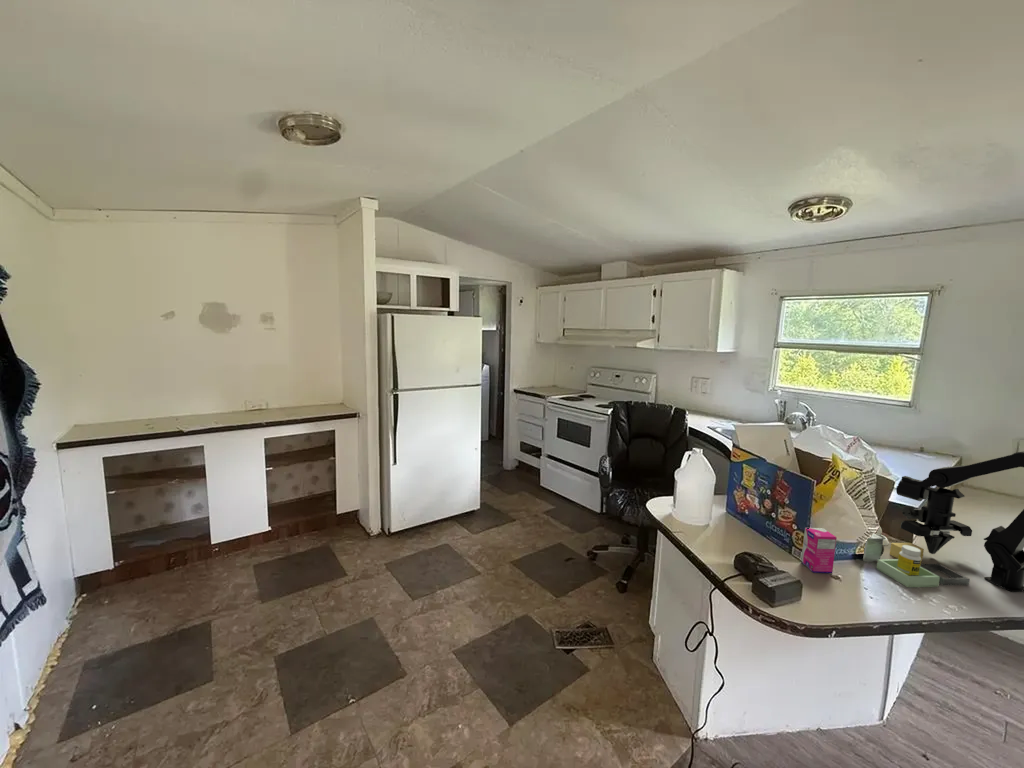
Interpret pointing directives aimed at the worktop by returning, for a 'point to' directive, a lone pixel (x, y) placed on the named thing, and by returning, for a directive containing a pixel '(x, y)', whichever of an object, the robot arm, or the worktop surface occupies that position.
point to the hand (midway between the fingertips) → (931, 553)
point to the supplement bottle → (909, 560)
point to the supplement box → (818, 550)
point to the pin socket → (956, 577)
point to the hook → (885, 540)
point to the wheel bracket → (873, 549)
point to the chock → (897, 548)
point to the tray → (922, 580)
